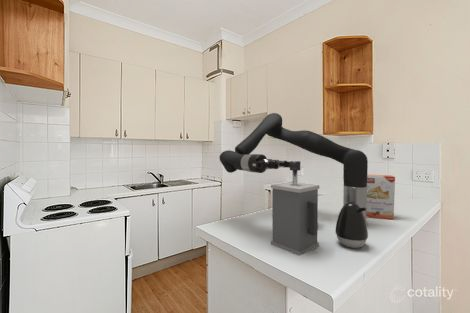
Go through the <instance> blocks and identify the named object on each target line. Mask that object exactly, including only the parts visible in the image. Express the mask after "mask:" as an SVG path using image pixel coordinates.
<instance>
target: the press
mask: <svg viewBox="0 0 470 313" xmlns="http://www.w3.org/2000/svg"><path fill="white" fill-rule="evenodd" d="M270 189H272V217H271V218H272V221H271V222H272V227H271V228H272V229H271V230H272V239H271V241H270V245H273V246H275V247H277V248H279V249H282V250H285V251H287V252H289V253H292V254H294V255H296V256H301V255H303V254H305V253H308V252H309V251H312V250H313V249H315V248H317V247H319V246H320V242H318V216H319V215H318V213H319V212H318V211H319V210H318V203H319V202H318V201H319V200H318V199H319V198H318V197H319V191H318V190H319V189H320V185H319V184H313V183H306V182H299V181H297V186H293V181H288V182H287V181H285V182H281V183H275V184H270Z"/></svg>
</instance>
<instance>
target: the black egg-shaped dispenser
mask: <svg viewBox="0 0 470 313" xmlns="http://www.w3.org/2000/svg"><path fill="white" fill-rule="evenodd" d="M365 210H366V208H365V207H364V208H360V207H359V205H358V204H356V203H354V202H348V203H346V204H344V206H343V205H342V206H341V209H340V211H339V213H338V217H337V220H336V222H335V223H336V224H335V235H336V238H337V240H338V242H339V243H340V244H341V245H343V246H345V247H347V248H352V249H358V248H361V247H363V246H364V245H365V244H366V243H367V239H368V238H369V232H368V224H367V220H366V221H365V217H364V215H363V212H362V211H365Z"/></svg>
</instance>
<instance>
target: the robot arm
mask: <svg viewBox="0 0 470 313" xmlns="http://www.w3.org/2000/svg"><path fill="white" fill-rule="evenodd" d="M266 135H267V136H268V137H271V138H274V139H278V140H280V141H282V142H283V141H284V142H287V143H289V144H290V145H293V146H297V147H299V148H301V149H302V150H305V151H307V152H309V153H312V154H315V155H317V156H321V157H325V158H327V159H328V158H329V159H332V160H333V161H336V162H338V163H339V164H341V165H342V167H343V196H342V197H343V205H342V207H343V206H344V204H346V203H348V202H354V203H356V204H358V205H359V207H360V208H364V207H365V208H366V210H365V211H362V212H363V215H364V217H365V221H366V222H367V217H366V214H367V174H368V168H369V167H368V165H369V163H368V157H367V154H366V153H364V152H363V151H361V150H359V149H354V148H350V147H347V146H344V145H340V144H338V143H336V142H334V141H333V140H330V139H328V138H327V137H325V136H323V135H321V134H319V133H316V132H313V131H311V130H290V129H288V128H285V127H283V117H282V116H281V114H279V113H276V112H272V113H269V114H267V115H266V116H265V117H264V118H263V119H262V121H261V122H260V123H259V124H258V125H257V126H256V127H255V129H254V130H252V132H250V134H249V135H247V137H245V138H244V139H243V140H242V141H241V142H240V143H239V144H238V143H237V145H235V147H234V151H233V150H229V149H228V150H223V151H222V152H221V153H220V155H219V161H220V163H221V165H222V166H223V168H224V169H225V171H226V172H227V173H229V174H231V173H235V172H236V171H243V172H244V171H246V172H249V173H255V174H256V173H257V174H264V173H265V172H266V171H267V170H272V169H273V170H278V169H279V168H283V169H285V168H289V169H290V161H288V160H279V159H272V158H267V156H266V155H264V154H255V153H252V152H254V150H255V149H256V148H257V147H258V146H259V144H260V143H261V141H262V140H263V139H264V137H265V136H266Z"/></svg>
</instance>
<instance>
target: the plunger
mask: <svg viewBox="0 0 470 313" xmlns="http://www.w3.org/2000/svg"><path fill="white" fill-rule="evenodd" d="M289 162H290V168H289V171H292V182H293V186H297V182H298V171H301V160H297V161H296V160H294V161H293V160H291V161H289Z"/></svg>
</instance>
